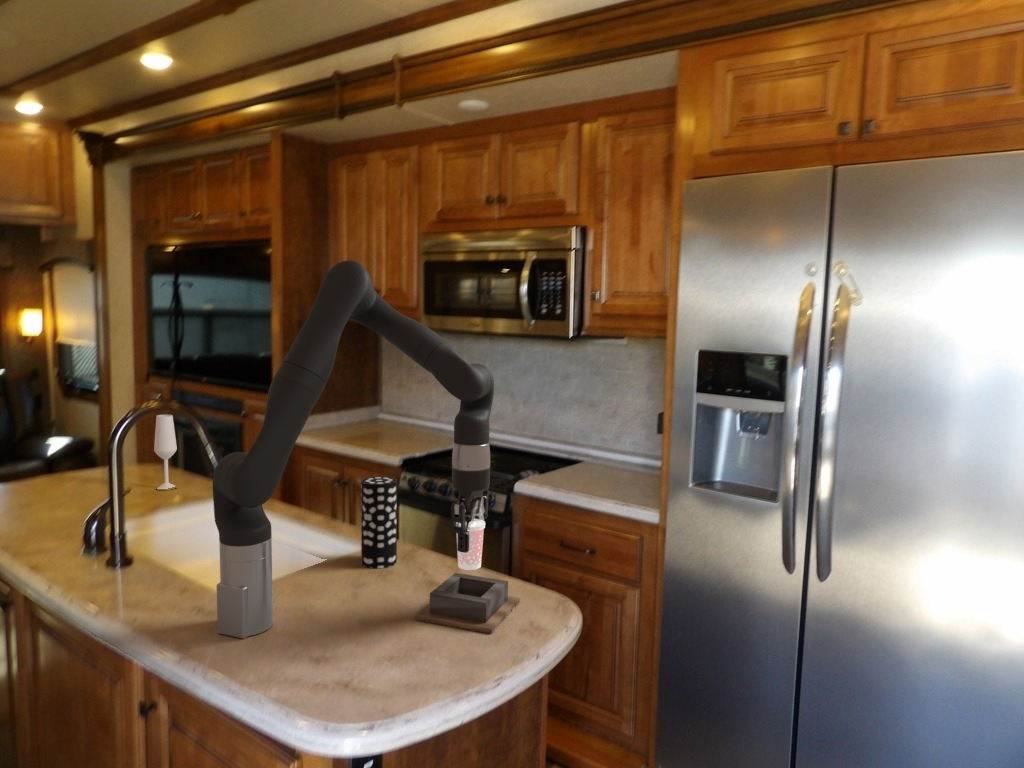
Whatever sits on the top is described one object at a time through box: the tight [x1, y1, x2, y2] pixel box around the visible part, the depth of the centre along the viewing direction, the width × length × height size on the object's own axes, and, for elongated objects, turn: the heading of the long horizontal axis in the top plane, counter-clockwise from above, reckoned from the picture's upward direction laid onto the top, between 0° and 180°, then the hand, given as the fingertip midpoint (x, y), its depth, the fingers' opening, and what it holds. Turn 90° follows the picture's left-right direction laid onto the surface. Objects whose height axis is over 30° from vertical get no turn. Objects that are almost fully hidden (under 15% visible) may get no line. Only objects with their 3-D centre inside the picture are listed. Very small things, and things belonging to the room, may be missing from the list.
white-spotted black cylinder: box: [360, 475, 398, 569], centre depth 173 cm, size 8×8×20 cm
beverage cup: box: [456, 519, 486, 571], centre depth 146 cm, size 6×6×14 cm
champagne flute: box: [153, 414, 178, 489], centre depth 236 cm, size 7×7×24 cm
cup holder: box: [415, 572, 521, 635], centre depth 147 cm, size 16×16×5 cm
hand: (470, 546), depth 146 cm, fingers closed on beverage cup, 6 cm apart
